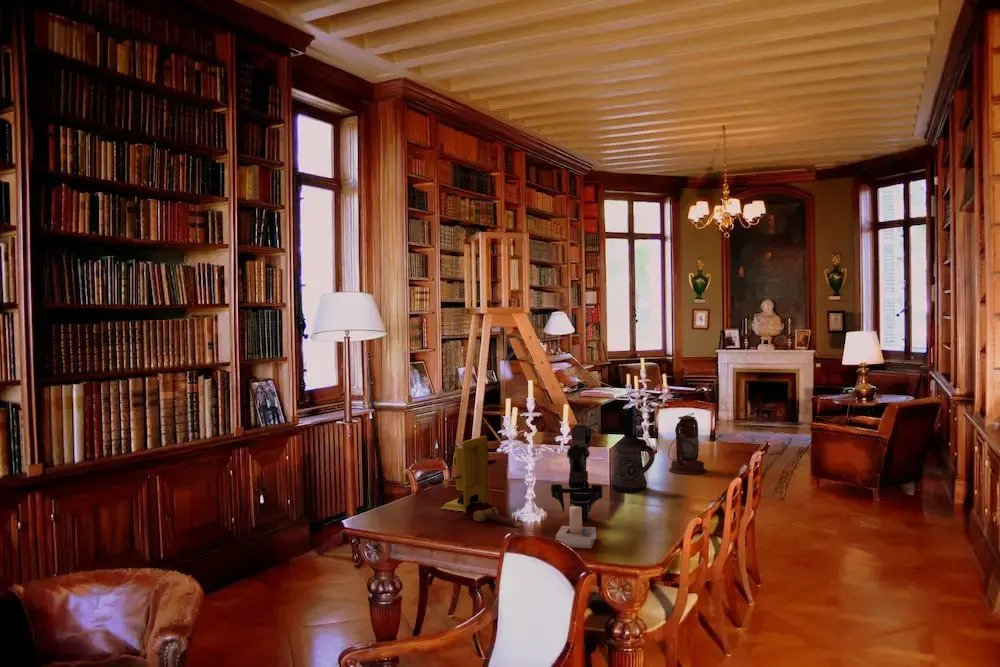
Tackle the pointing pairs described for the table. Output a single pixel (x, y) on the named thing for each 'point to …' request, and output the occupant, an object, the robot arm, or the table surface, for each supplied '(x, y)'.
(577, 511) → the white tall rounded piece
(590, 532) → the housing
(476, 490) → the olive upright panel stand
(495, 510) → the gavel
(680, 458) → the lantern
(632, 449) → the beer stein
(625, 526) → the table surface
